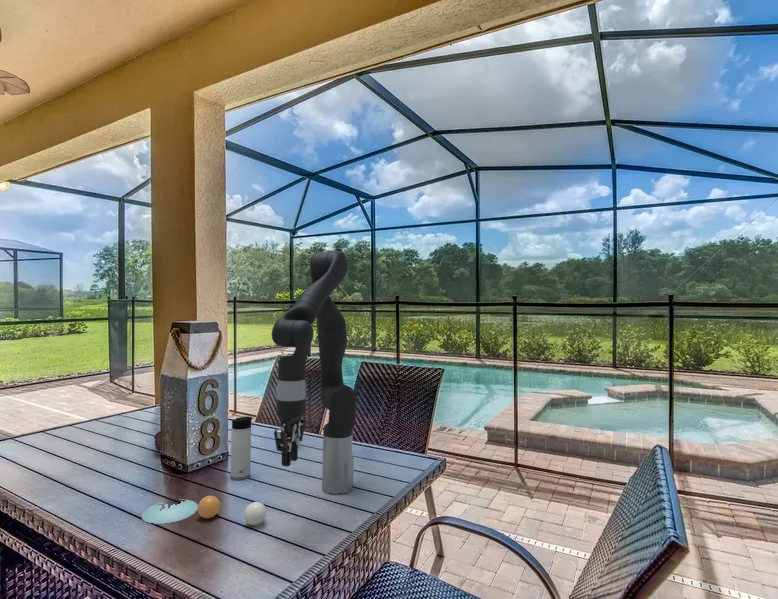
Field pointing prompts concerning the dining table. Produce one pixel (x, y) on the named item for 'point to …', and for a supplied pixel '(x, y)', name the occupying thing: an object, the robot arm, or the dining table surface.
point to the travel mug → (241, 448)
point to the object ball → (208, 506)
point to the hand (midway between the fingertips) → (289, 462)
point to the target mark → (169, 512)
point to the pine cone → (158, 441)
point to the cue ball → (255, 513)
